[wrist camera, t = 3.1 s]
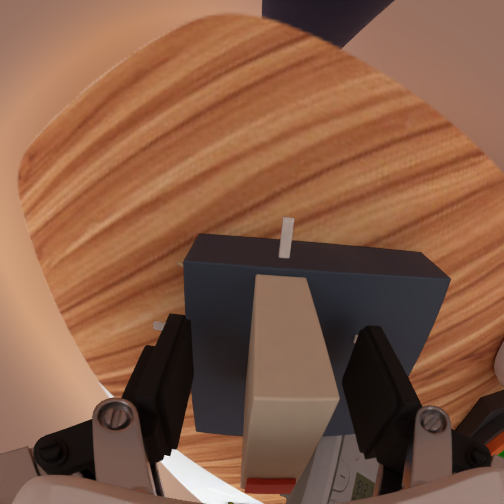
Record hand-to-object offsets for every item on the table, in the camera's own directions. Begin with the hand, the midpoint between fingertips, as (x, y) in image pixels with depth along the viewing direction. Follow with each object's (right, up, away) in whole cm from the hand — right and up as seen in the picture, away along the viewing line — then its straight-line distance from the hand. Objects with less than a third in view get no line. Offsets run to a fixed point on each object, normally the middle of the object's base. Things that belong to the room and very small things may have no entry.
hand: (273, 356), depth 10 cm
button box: (+25, -15, +10) cm, 31 cm away
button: (+25, -16, +7) cm, 30 cm away
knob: (0, 0, +1) cm, 1 cm away
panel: (+1, 0, +5) cm, 5 cm away
